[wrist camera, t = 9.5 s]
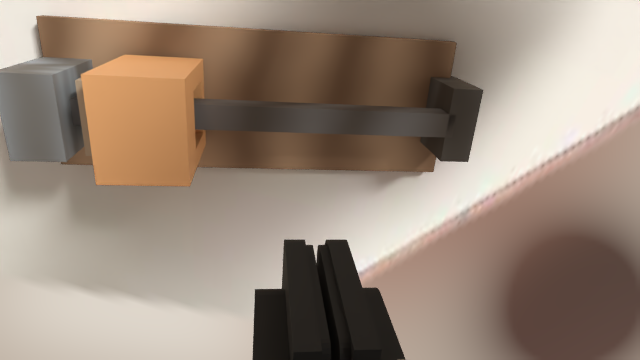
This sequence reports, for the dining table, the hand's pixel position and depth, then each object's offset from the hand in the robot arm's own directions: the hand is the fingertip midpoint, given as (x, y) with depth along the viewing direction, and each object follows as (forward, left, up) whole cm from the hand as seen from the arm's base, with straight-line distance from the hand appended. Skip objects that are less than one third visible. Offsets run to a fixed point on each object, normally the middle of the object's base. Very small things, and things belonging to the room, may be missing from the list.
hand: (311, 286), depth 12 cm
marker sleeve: (+8, 0, -21) cm, 23 cm away
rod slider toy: (+1, 0, -23) cm, 23 cm away
